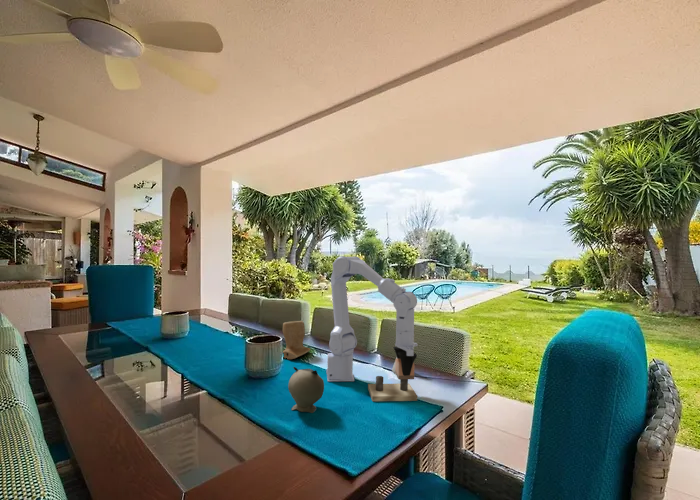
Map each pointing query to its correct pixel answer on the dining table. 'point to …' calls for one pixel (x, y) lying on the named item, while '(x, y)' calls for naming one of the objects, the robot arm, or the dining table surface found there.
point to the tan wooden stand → (294, 339)
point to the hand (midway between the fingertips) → (404, 372)
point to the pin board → (391, 391)
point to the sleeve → (399, 370)
